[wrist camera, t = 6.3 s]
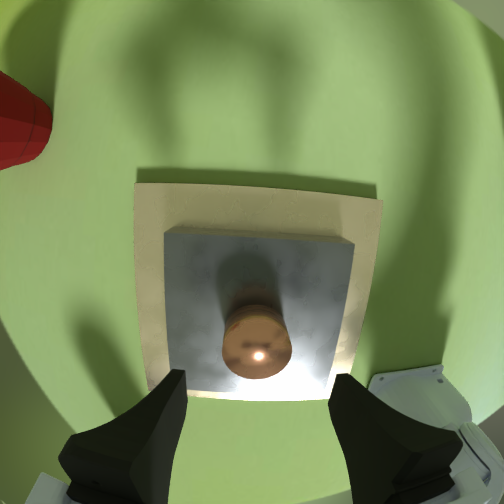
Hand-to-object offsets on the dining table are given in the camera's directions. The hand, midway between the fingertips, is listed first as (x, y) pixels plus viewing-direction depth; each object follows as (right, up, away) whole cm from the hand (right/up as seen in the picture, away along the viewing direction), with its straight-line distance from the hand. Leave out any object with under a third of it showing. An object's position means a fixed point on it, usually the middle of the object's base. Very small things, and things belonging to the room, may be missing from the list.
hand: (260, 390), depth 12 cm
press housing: (0, +2, +10) cm, 10 cm away
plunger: (0, +2, +9) cm, 10 cm away
